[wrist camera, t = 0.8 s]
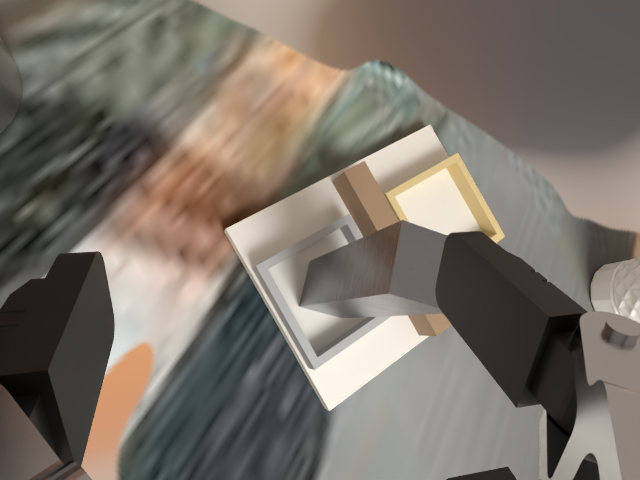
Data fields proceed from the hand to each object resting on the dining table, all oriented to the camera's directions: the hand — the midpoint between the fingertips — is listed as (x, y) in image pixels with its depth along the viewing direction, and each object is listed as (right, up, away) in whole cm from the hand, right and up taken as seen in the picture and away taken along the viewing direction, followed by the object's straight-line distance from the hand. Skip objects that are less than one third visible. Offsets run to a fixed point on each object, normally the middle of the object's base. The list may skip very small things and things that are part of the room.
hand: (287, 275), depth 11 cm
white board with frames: (+6, 0, +26) cm, 27 cm away
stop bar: (+1, -3, +23) cm, 23 cm away
